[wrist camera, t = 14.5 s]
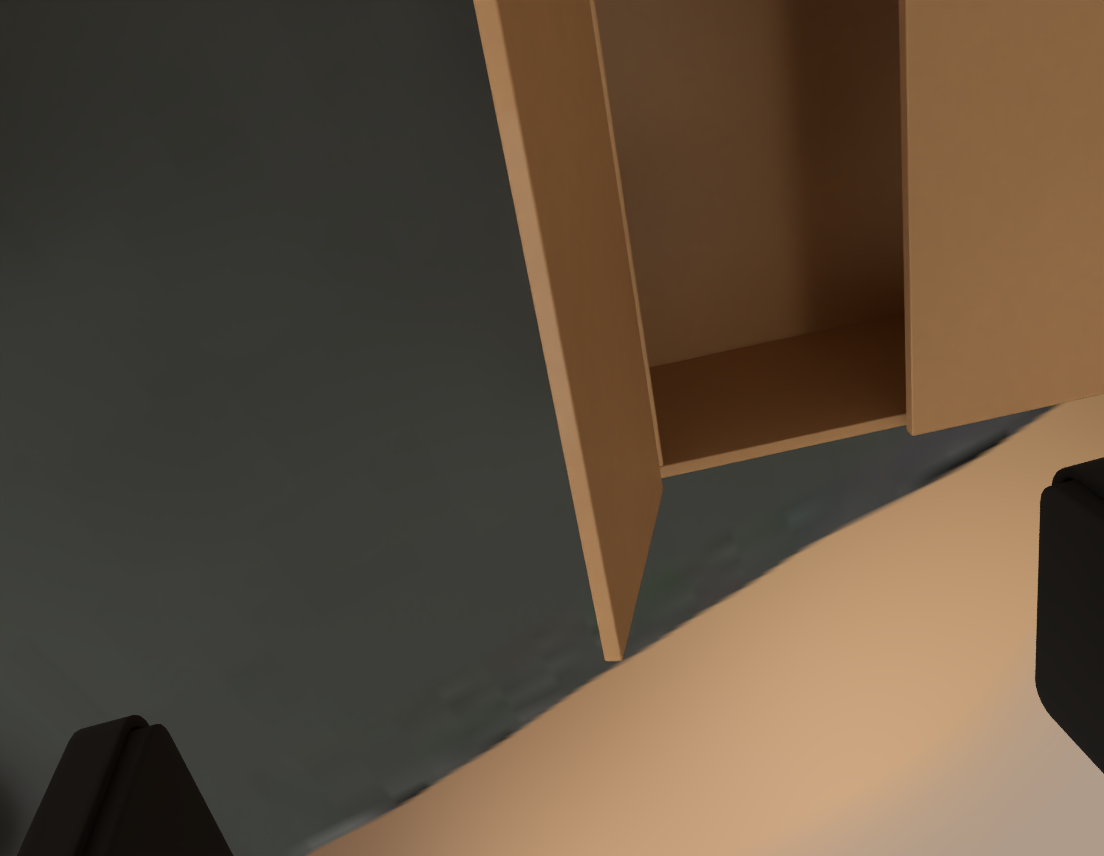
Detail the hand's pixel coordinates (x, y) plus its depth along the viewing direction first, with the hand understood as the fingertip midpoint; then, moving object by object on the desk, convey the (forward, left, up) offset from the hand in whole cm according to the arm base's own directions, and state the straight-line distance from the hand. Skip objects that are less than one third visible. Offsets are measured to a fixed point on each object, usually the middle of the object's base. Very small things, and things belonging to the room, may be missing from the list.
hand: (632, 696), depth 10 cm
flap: (+2, 0, -12) cm, 12 cm away
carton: (+10, 0, -24) cm, 26 cm away
